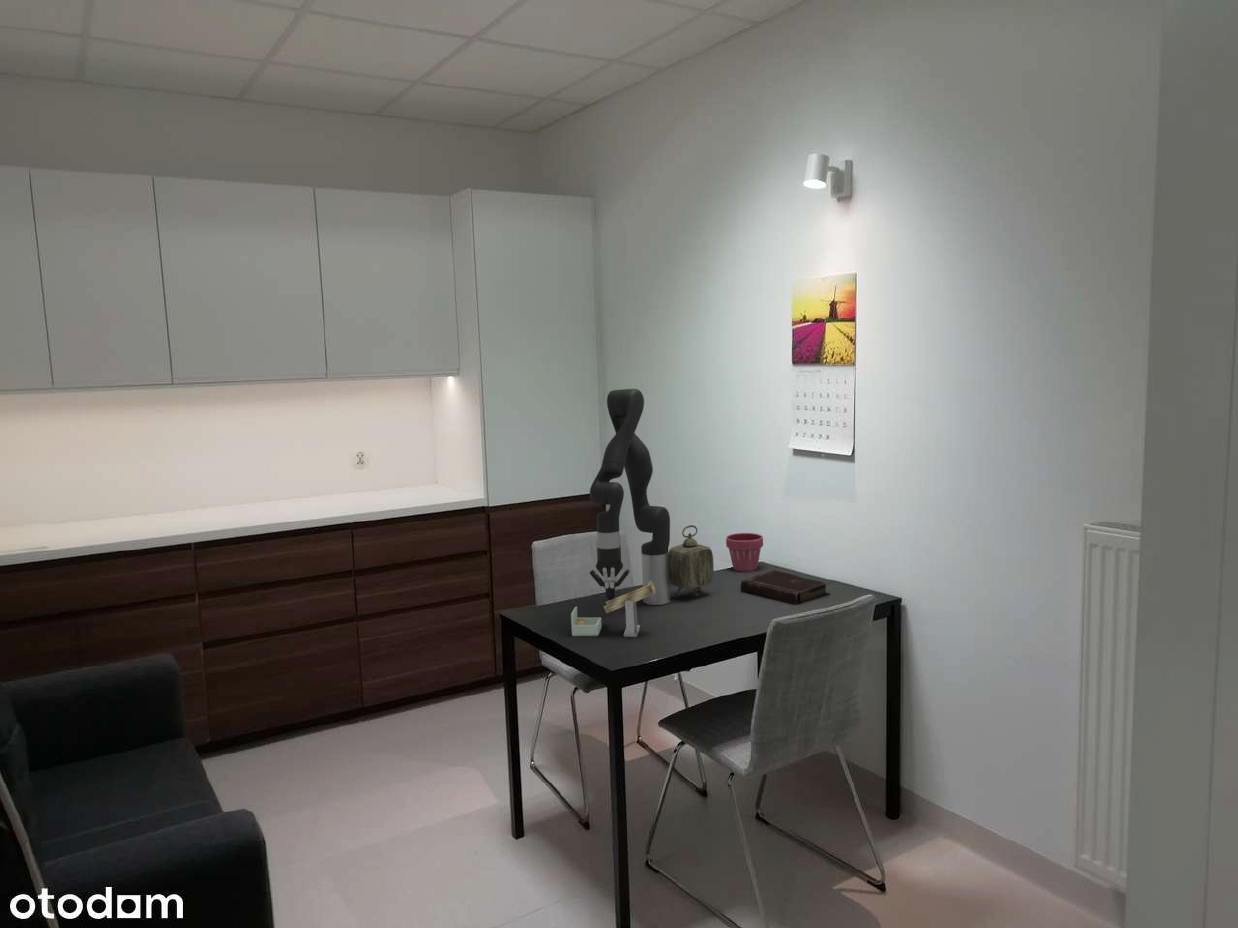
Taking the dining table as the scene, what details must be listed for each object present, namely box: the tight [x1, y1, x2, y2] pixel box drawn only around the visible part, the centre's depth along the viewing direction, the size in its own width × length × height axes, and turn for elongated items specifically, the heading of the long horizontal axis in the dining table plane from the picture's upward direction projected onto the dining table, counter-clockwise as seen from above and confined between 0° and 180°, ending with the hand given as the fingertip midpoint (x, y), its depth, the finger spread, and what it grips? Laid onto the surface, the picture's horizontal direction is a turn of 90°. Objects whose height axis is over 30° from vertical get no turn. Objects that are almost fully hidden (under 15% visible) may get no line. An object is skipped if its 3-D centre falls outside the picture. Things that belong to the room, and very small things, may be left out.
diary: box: [740, 569, 830, 606], centre depth 310 cm, size 19×25×5 cm
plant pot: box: [725, 532, 764, 573], centre depth 346 cm, size 14×14×13 cm
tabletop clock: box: [668, 524, 715, 598], centre depth 310 cm, size 14×9×25 cm, turn 128°
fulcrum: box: [623, 600, 641, 638], centre depth 274 cm, size 4×9×11 cm, turn 173°
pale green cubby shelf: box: [570, 606, 603, 637], centre depth 276 cm, size 8×8×7 cm
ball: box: [576, 621, 586, 625], centre depth 276 cm, size 3×3×3 cm
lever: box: [603, 580, 656, 614], centre depth 276 cm, size 16×12×3 cm
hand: (610, 599), depth 281 cm, fingers closed
